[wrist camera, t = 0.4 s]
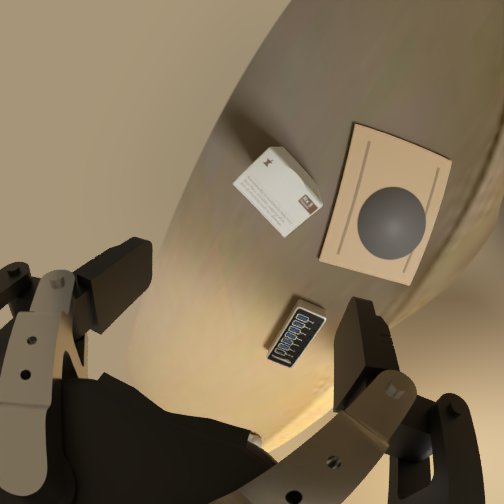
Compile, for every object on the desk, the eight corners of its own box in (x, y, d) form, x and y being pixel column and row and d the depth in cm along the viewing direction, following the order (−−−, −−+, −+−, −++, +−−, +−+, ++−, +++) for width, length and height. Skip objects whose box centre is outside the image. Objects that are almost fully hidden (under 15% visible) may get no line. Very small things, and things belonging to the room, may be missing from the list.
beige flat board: (354, 124, 27) (355, 123, 26) (450, 161, 25) (452, 161, 25) (319, 258, 34) (319, 261, 33) (408, 283, 32) (409, 286, 32)
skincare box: (256, 170, 31) (224, 183, 20) (284, 144, 30) (267, 142, 19) (292, 208, 32) (280, 242, 21) (320, 183, 30) (324, 205, 19)
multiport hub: (327, 309, 37) (327, 318, 34) (292, 359, 41) (291, 369, 39) (299, 296, 37) (297, 305, 35) (267, 349, 41) (265, 358, 39)
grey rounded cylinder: (266, 431, 53) (259, 444, 53) (232, 422, 53) (227, 436, 54) (264, 443, 48) (257, 456, 49) (229, 434, 49) (223, 447, 50)
